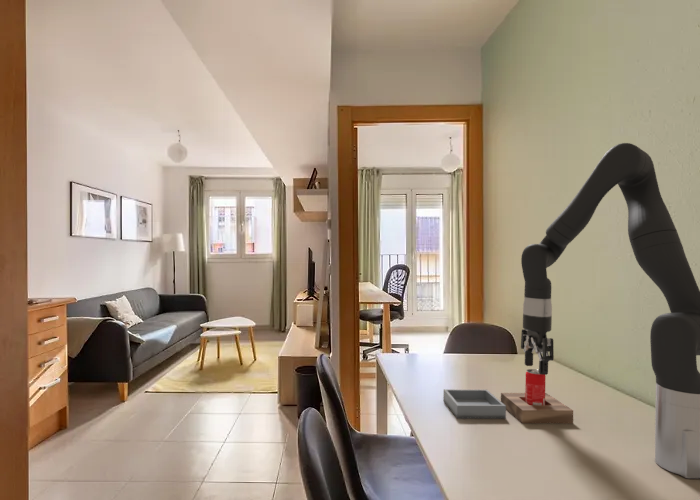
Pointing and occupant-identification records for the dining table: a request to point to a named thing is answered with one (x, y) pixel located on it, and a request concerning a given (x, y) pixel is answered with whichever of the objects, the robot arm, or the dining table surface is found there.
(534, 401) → the beverage can
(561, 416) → the socket holder
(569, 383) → the dining table surface
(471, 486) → the dining table surface
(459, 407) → the tray
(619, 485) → the dining table surface
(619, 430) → the dining table surface
